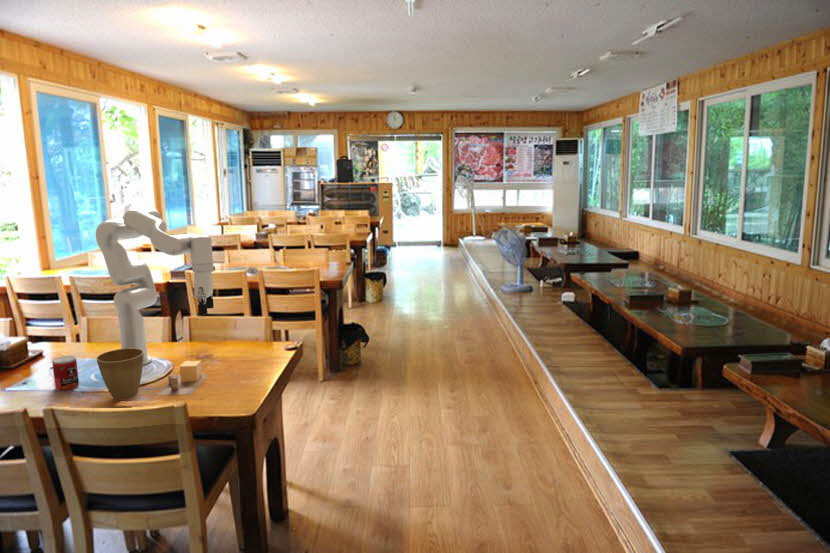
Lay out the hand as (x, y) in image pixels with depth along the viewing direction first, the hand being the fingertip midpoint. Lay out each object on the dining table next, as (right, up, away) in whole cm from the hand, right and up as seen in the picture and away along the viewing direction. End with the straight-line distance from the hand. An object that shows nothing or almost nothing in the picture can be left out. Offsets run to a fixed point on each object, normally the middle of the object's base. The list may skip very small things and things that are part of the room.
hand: (206, 311), depth 228 cm
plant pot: (-23, -30, -18) cm, 42 cm away
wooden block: (-4, -25, -4) cm, 26 cm away
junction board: (-5, -28, -9) cm, 30 cm away
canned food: (-49, -28, -8) cm, 57 cm away
